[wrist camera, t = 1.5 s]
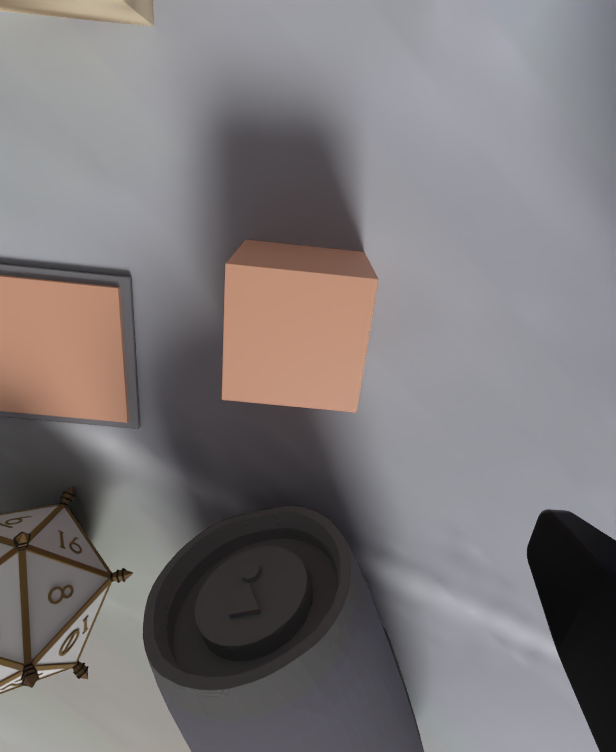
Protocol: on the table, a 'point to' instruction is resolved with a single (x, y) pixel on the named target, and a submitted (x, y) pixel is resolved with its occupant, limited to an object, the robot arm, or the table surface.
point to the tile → (67, 347)
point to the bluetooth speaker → (275, 642)
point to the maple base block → (87, 9)
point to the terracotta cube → (296, 325)
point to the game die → (47, 593)
